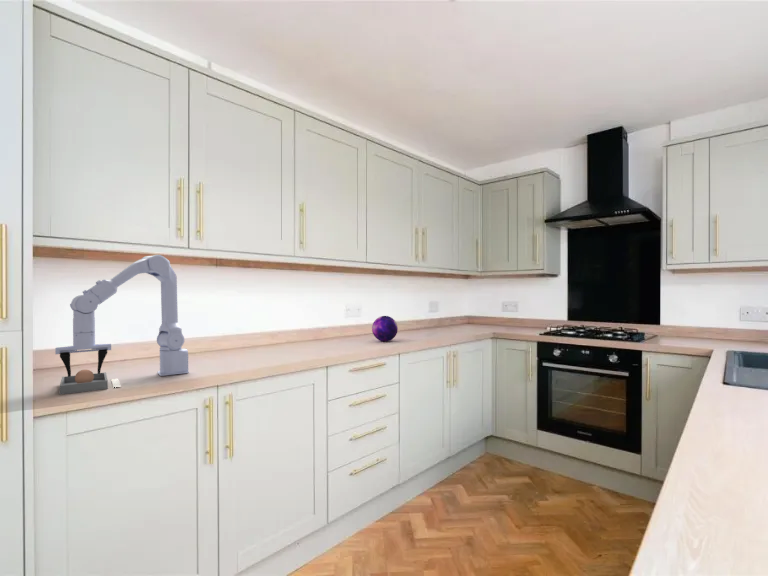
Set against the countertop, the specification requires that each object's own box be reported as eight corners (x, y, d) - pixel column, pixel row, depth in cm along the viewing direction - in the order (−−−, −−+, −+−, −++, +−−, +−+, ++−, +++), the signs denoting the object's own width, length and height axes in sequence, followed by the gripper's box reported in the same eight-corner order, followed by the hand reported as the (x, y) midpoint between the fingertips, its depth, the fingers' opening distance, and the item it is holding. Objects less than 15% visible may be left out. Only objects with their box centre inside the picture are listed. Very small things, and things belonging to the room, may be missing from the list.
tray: (106, 379, 144) (105, 372, 144) (107, 388, 131) (107, 380, 131) (62, 384, 137) (62, 376, 137) (59, 394, 124) (59, 385, 124)
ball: (94, 382, 137) (94, 367, 137) (93, 385, 133) (93, 369, 133) (75, 384, 135) (75, 369, 135) (74, 387, 131) (74, 371, 131)
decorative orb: (371, 340, 251) (371, 315, 252) (396, 339, 252) (396, 314, 252) (372, 343, 237) (372, 316, 237) (398, 342, 237) (398, 316, 237)
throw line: (118, 378, 146) (118, 378, 146) (120, 387, 133) (120, 387, 133) (111, 379, 145) (111, 379, 145) (113, 388, 132) (113, 388, 132)
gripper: (110, 329, 142) (110, 369, 141) (56, 332, 133) (56, 375, 133) (111, 331, 136) (111, 373, 136) (54, 334, 127) (55, 379, 127)
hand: (84, 374), depth 134 cm, fingers open, 7 cm apart
